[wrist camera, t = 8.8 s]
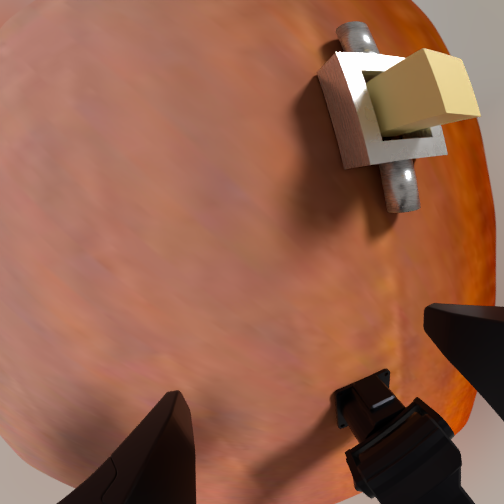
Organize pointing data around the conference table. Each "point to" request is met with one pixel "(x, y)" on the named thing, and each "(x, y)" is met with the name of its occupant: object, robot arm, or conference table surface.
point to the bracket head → (372, 118)
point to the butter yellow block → (422, 93)
